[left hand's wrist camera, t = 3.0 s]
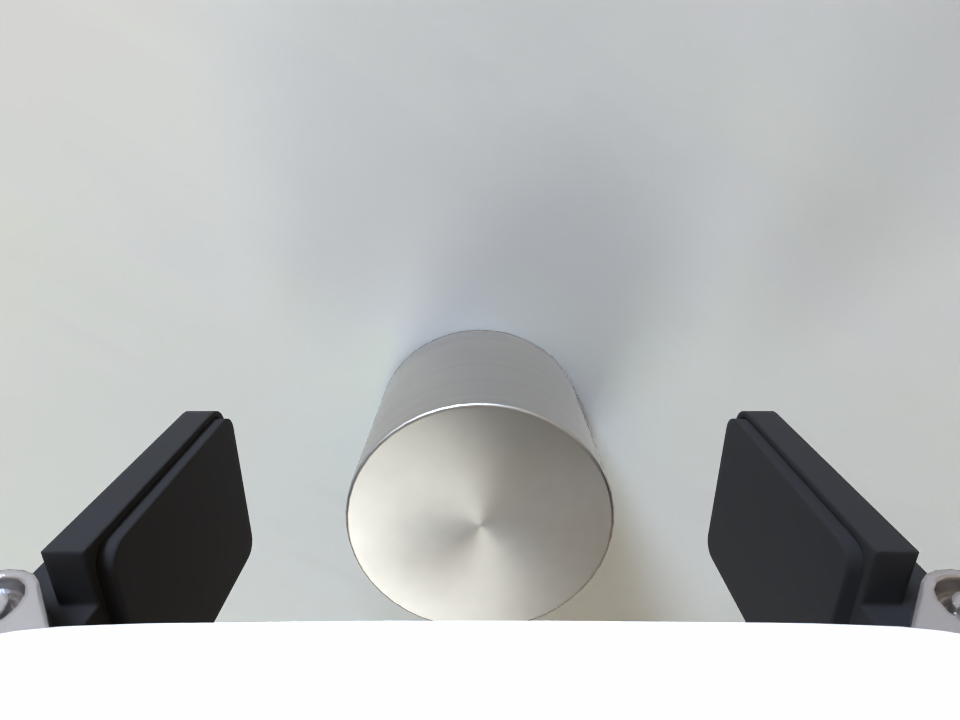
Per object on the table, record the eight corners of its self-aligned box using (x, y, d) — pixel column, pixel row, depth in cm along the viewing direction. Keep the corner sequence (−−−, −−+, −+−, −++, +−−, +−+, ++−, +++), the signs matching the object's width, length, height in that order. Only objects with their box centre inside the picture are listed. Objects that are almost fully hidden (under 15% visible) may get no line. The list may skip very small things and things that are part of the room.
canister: (595, 340, 14) (639, 418, 10) (562, 516, 15) (589, 640, 12) (385, 318, 13) (349, 389, 10) (375, 498, 15) (341, 619, 11)
